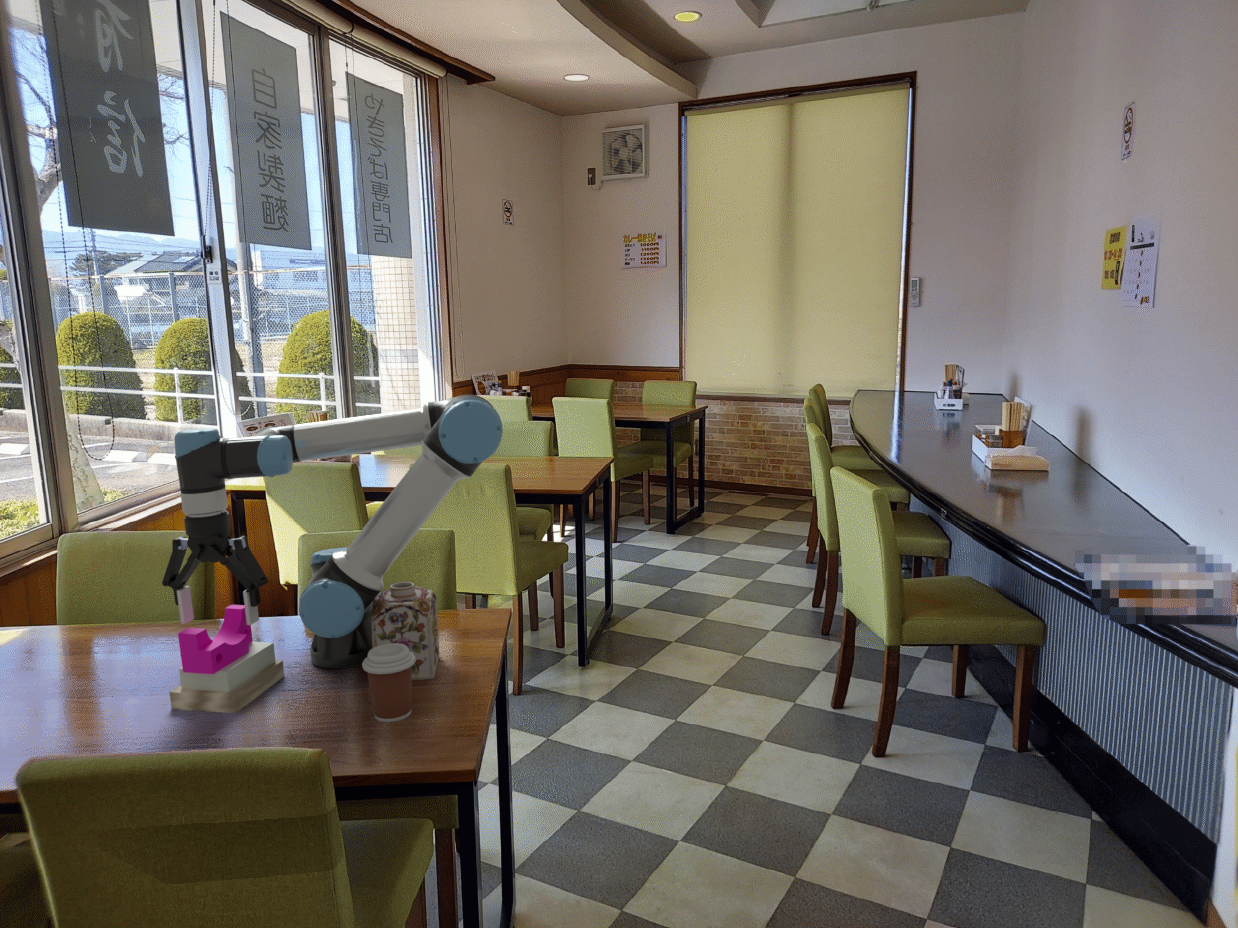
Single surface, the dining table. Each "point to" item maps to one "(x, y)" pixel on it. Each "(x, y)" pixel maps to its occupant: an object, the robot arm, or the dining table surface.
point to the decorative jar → (408, 624)
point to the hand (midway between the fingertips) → (220, 621)
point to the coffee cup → (390, 681)
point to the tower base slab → (227, 693)
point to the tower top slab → (232, 670)
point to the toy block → (216, 643)
